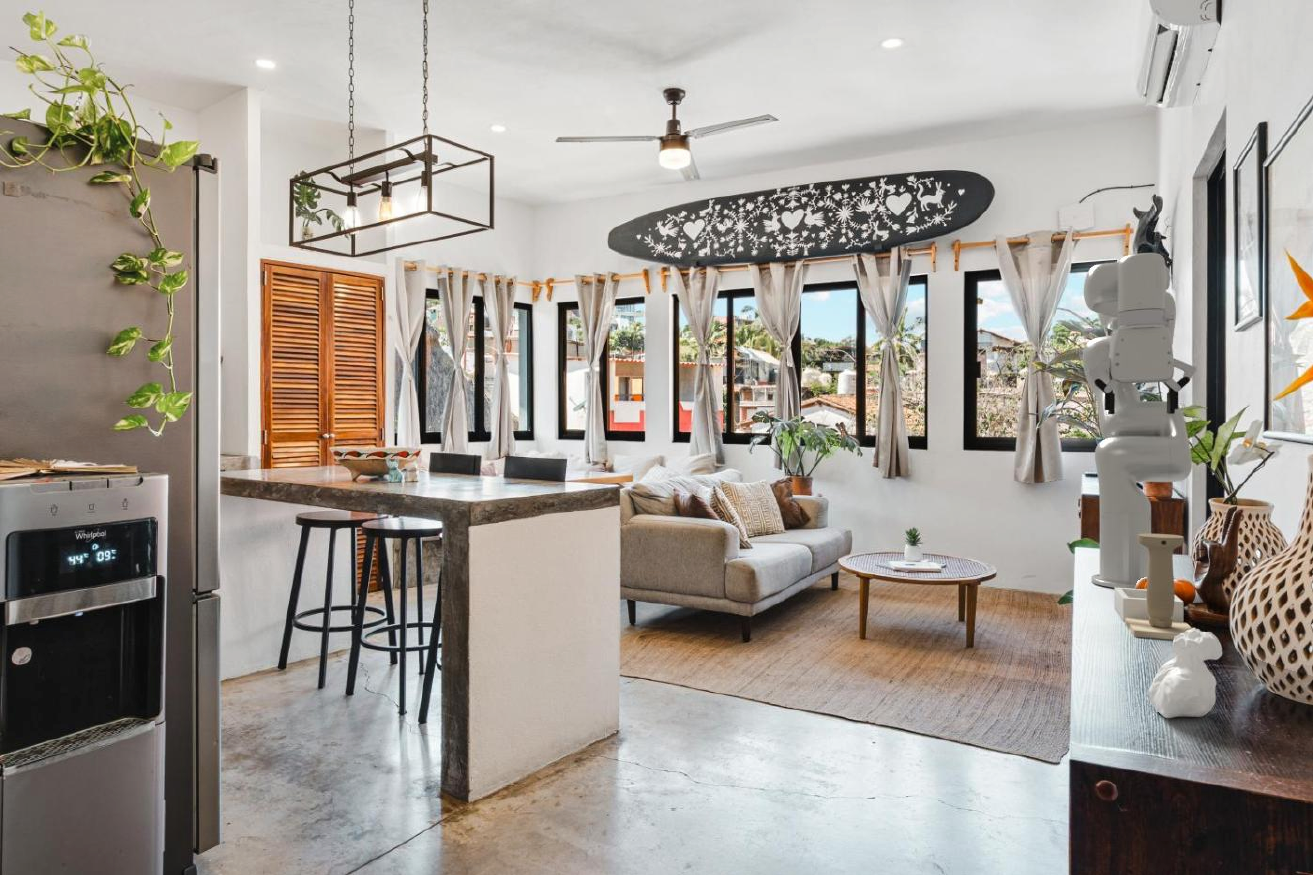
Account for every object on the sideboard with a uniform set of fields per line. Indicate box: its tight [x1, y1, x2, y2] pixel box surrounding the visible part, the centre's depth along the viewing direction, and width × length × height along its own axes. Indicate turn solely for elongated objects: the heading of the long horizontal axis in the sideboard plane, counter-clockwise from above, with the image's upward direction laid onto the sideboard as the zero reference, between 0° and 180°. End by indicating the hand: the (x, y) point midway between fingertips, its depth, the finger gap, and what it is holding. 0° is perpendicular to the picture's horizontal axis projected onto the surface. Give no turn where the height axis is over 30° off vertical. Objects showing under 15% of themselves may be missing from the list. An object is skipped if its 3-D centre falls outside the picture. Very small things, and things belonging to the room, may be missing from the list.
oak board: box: [1124, 618, 1193, 641], centre depth 134 cm, size 9×9×1 cm
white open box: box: [1113, 587, 1184, 622], centre depth 145 cm, size 10×9×4 cm
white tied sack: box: [1147, 627, 1223, 719], centre depth 97 cm, size 12×8×11 cm
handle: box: [1138, 533, 1185, 628], centre depth 134 cm, size 5×6×15 cm
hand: (1140, 413), depth 151 cm, fingers open, 9 cm apart
